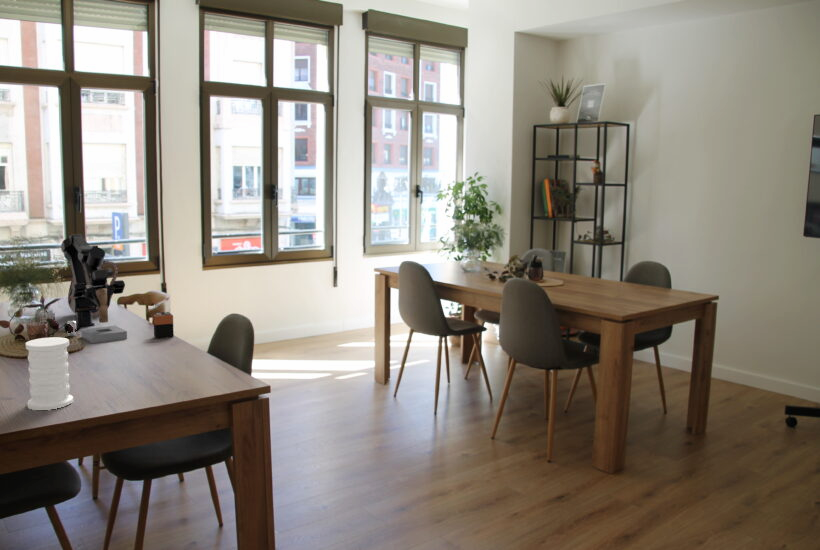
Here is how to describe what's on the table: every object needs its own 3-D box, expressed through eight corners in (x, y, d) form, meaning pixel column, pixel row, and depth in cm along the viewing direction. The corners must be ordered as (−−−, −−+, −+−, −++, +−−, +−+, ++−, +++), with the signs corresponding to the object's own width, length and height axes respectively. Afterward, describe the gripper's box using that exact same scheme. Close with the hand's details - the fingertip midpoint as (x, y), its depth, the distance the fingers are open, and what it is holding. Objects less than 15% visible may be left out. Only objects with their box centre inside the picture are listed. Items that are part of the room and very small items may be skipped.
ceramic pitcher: (72, 312, 325) (69, 258, 322) (121, 310, 331) (119, 257, 328) (65, 320, 309) (63, 263, 305) (117, 318, 315) (115, 262, 311)
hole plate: (81, 337, 278) (81, 329, 278) (115, 332, 287) (115, 325, 287) (92, 343, 269) (92, 335, 268) (127, 338, 277) (126, 331, 277)
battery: (173, 337, 281) (173, 312, 280) (156, 339, 278) (155, 314, 276) (171, 335, 285) (170, 310, 284) (153, 336, 282) (153, 312, 280)
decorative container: (31, 413, 192) (27, 348, 189) (24, 401, 201) (20, 340, 198) (77, 406, 198) (74, 343, 196) (69, 395, 208) (66, 335, 205)
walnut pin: (97, 322, 276) (96, 289, 274) (103, 320, 279) (102, 288, 277) (104, 323, 275) (102, 290, 273) (109, 321, 278) (108, 288, 276)
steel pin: (66, 336, 280) (66, 321, 279) (75, 335, 282) (74, 320, 281) (69, 337, 277) (68, 322, 276) (77, 336, 279) (77, 321, 278)
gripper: (72, 263, 271) (81, 295, 264) (122, 260, 282) (132, 291, 276) (68, 280, 278) (77, 313, 271) (117, 277, 290) (127, 308, 283)
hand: (104, 305), depth 275 cm, fingers closed on walnut pin, 3 cm apart
